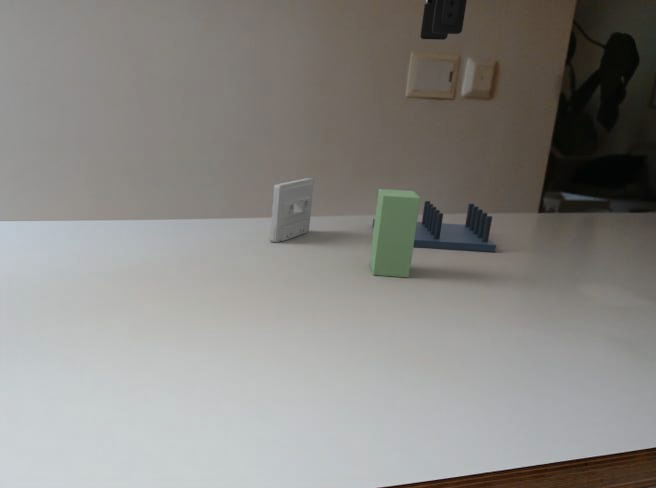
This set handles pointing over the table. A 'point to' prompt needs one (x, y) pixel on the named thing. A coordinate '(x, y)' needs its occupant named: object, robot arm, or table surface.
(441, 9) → the robot arm
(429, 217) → the rack
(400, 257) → the block
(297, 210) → the cassette
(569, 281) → the table surface
